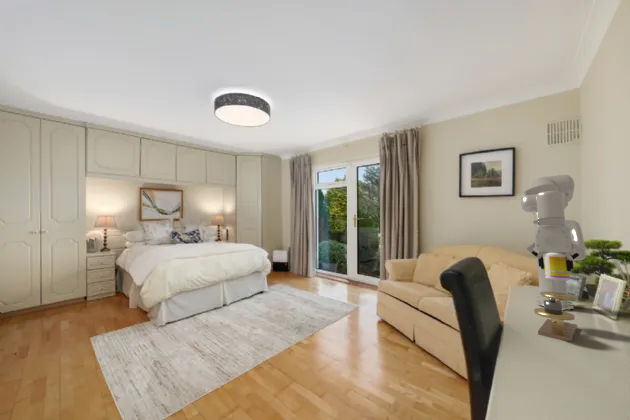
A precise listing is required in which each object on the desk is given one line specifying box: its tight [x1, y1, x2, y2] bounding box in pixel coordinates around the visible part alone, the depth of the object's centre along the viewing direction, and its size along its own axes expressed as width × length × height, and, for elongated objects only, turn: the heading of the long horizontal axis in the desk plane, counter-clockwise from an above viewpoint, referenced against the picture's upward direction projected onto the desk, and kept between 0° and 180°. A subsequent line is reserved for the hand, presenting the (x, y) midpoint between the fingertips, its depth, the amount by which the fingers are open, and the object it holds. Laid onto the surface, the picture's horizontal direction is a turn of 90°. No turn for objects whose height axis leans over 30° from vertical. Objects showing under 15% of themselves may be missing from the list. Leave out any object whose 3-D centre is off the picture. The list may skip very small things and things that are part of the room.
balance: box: [533, 291, 579, 343], centre depth 88 cm, size 23×10×12 cm, turn 129°
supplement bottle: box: [543, 252, 570, 282], centre depth 94 cm, size 7×7×13 cm
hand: (555, 269), depth 93 cm, fingers closed on supplement bottle, 6 cm apart
